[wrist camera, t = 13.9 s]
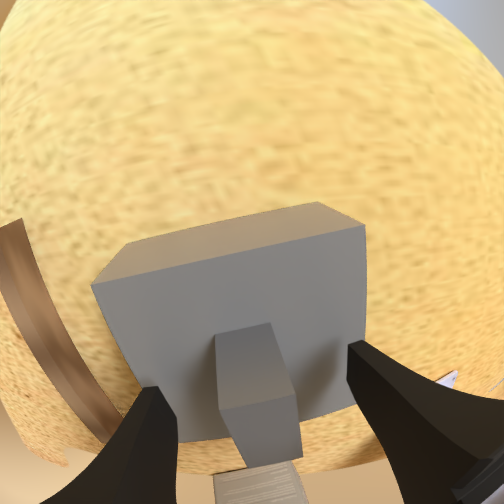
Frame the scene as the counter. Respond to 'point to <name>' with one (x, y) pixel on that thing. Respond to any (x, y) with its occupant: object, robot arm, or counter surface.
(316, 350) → the grey stemmed block
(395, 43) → the counter surface
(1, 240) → the stopper
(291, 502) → the skincare box
